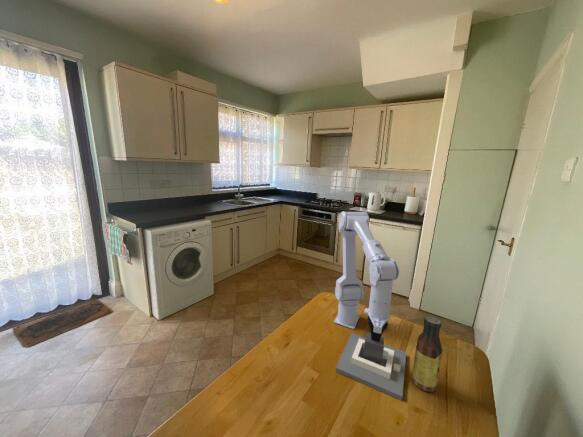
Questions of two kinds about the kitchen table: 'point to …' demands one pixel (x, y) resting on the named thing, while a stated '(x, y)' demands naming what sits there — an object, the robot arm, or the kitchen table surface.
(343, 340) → the kitchen table surface
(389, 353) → the socket
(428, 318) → the sauce bottle
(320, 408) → the kitchen table surface
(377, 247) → the robot arm
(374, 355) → the plug
